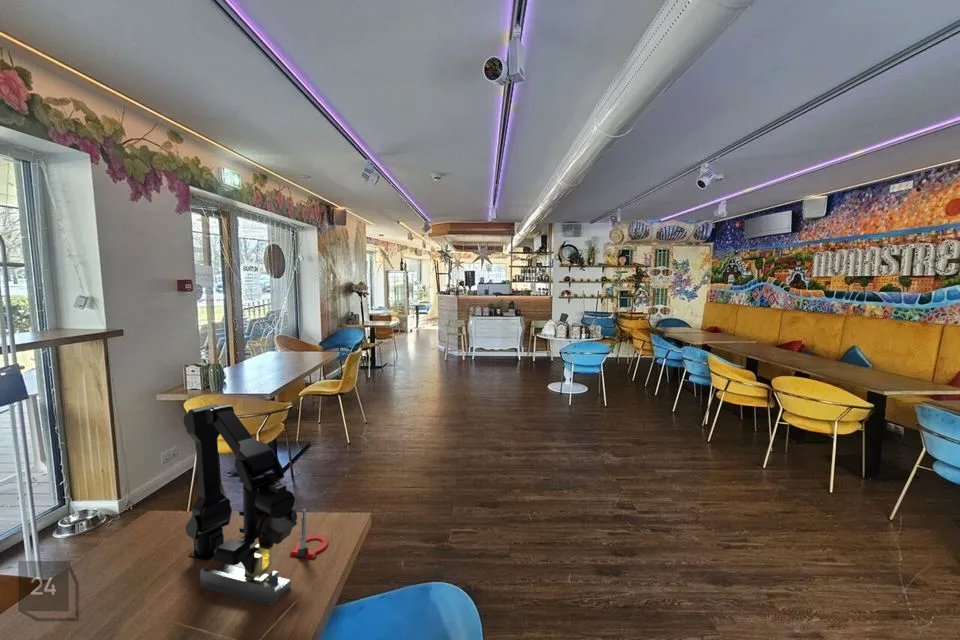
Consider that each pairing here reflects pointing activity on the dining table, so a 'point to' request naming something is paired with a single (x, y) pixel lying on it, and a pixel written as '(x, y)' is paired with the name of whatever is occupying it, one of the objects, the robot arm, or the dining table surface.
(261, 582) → the rack flange
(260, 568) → the bracket
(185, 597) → the dining table surface
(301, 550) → the tow hook
